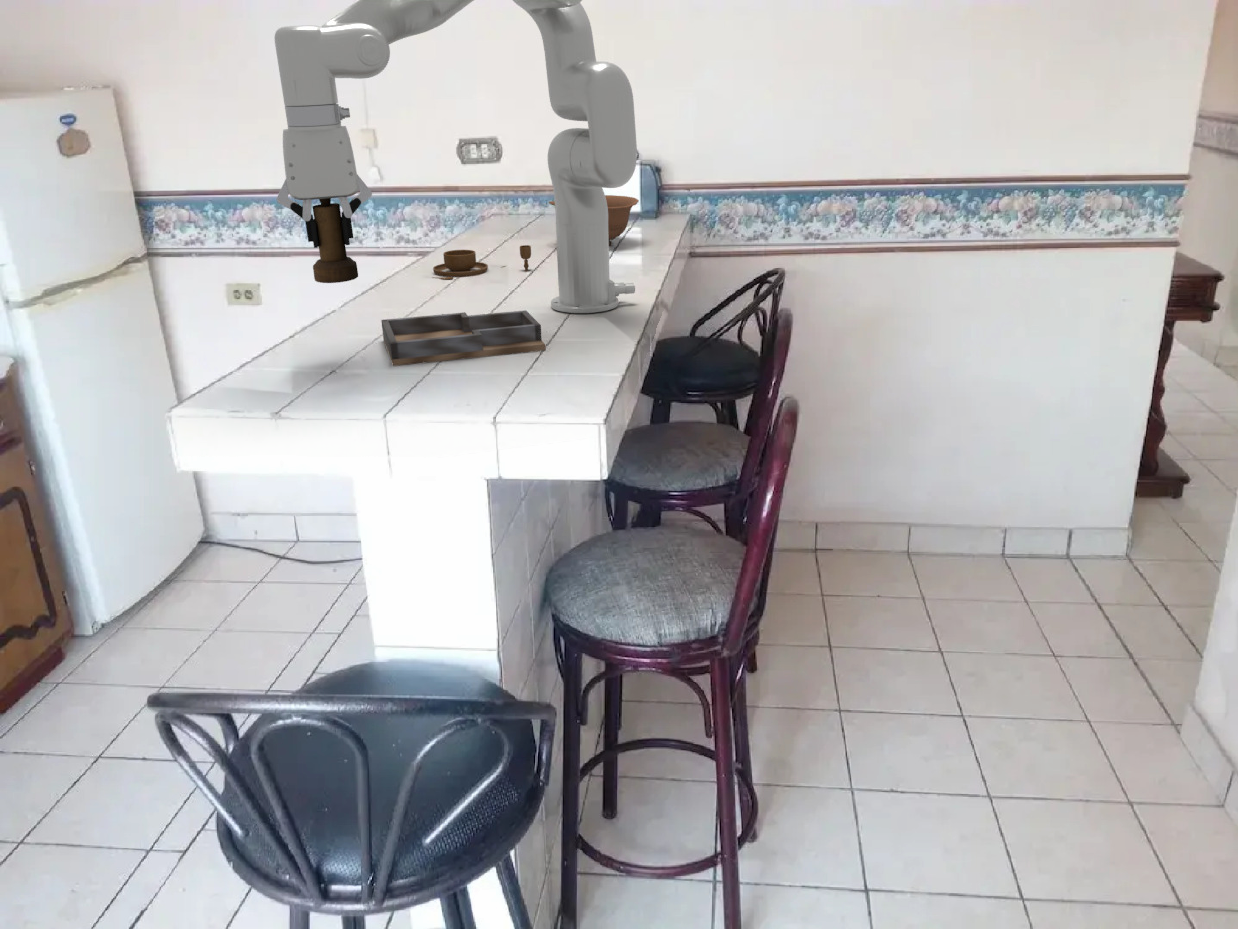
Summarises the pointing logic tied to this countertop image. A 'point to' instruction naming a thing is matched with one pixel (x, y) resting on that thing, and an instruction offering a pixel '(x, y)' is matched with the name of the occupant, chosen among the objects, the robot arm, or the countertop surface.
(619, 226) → the bowl
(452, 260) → the place setting
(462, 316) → the keyhole board
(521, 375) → the countertop surface
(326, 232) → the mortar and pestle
